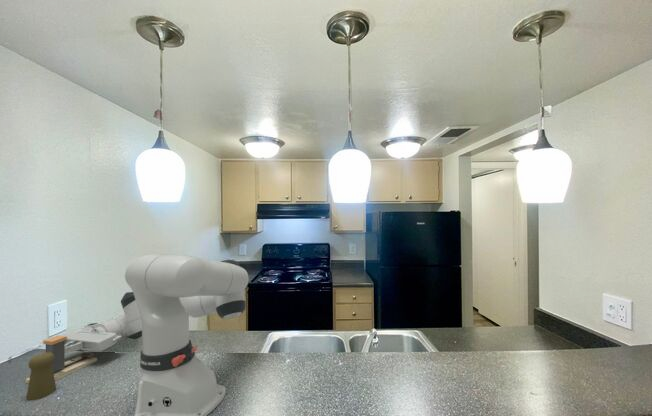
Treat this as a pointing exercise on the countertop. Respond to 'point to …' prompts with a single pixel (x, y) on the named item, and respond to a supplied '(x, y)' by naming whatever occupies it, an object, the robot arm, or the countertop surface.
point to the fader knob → (56, 351)
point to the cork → (41, 377)
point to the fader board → (73, 365)
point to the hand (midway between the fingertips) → (60, 351)
